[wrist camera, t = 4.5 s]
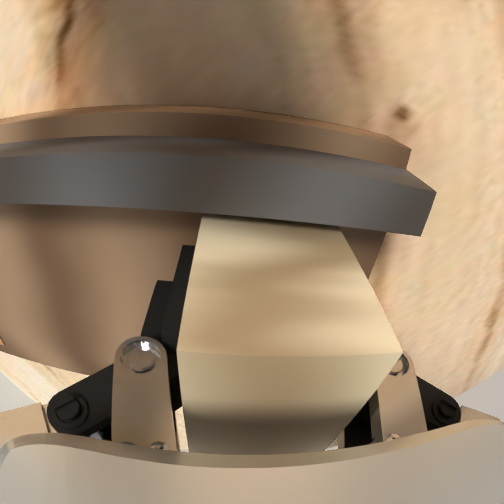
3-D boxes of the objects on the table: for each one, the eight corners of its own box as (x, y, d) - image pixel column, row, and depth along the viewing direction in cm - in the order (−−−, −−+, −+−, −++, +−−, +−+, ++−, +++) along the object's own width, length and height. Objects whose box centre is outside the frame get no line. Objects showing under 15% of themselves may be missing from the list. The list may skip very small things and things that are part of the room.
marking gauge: (328, 209, 10) (403, 352, 5) (276, 381, 15) (287, 485, 10) (206, 197, 10) (176, 349, 5) (201, 378, 15) (195, 485, 10)
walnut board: (386, 135, 10) (444, 168, 7) (308, 367, 18) (319, 422, 15) (-80, 141, 8) (-124, 167, 5) (-25, 319, 15) (-47, 356, 12)
